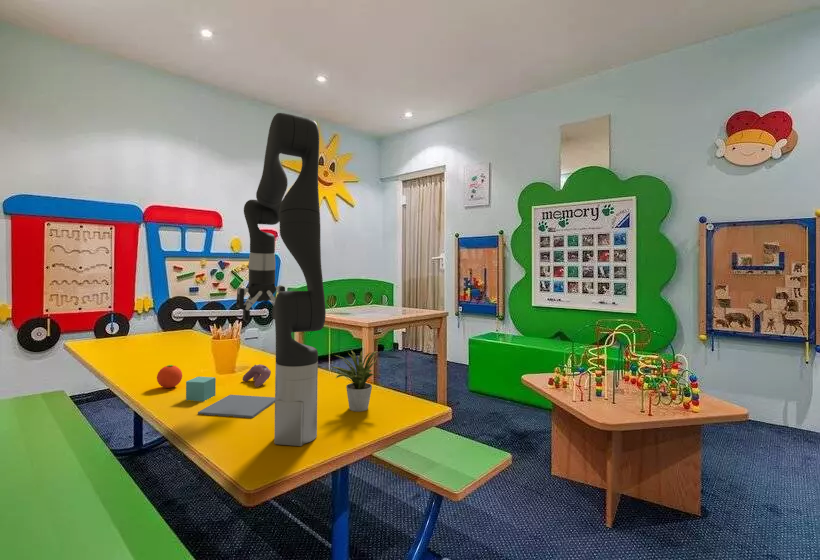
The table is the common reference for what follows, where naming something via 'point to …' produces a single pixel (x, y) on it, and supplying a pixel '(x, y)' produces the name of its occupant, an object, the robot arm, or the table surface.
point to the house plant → (358, 382)
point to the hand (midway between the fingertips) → (261, 320)
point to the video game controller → (257, 374)
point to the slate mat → (239, 406)
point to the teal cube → (200, 388)
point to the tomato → (169, 376)
